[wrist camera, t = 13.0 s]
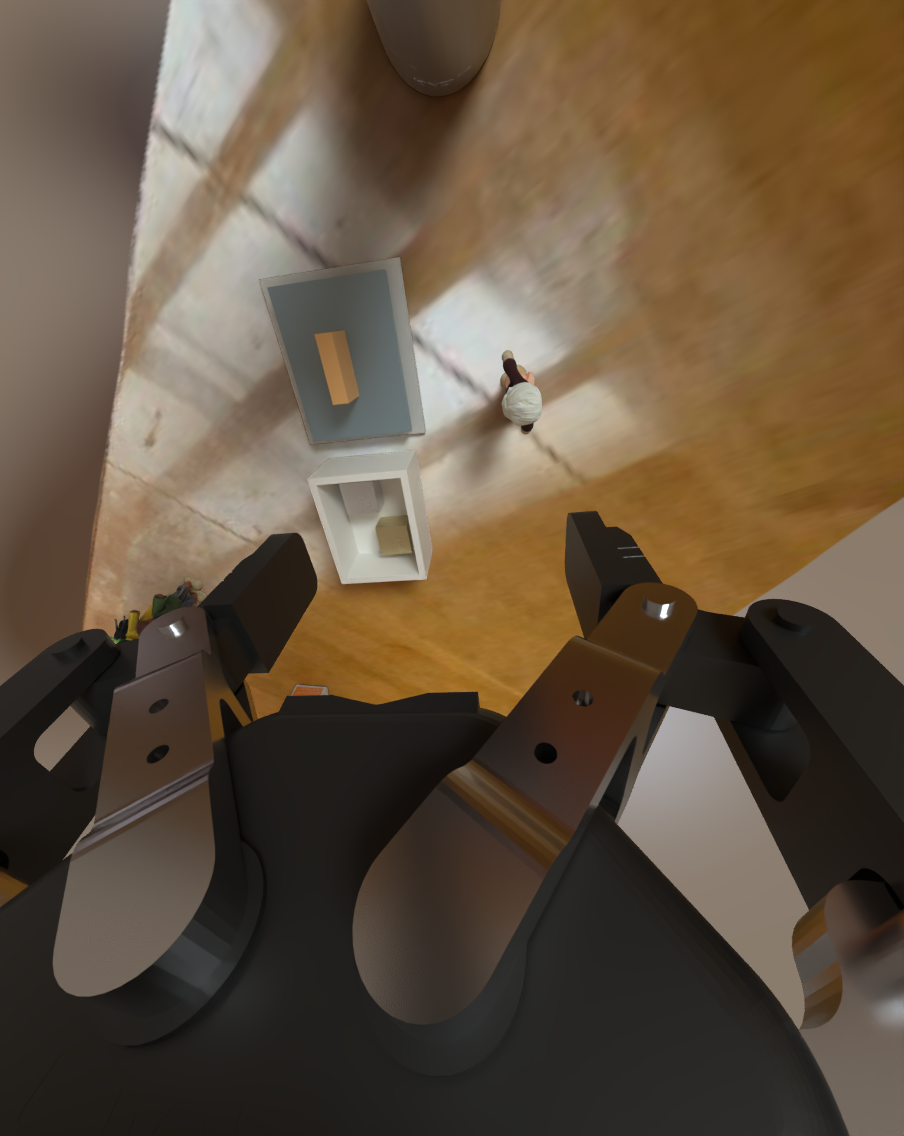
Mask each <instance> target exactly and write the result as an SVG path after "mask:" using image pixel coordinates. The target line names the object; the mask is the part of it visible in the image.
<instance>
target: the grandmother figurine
mask: <svg viewBox="0 0 904 1136" xmlns="http://www.w3.org/2000/svg"><path fill="white" fill-rule="evenodd" d="M502 360H503V368H504V371H505V373H504V374H503V375H502V377H501V383H502V386H503V387H504V388H506V389H507V390H506V394H505V396H504V398H503V400H502V408H503V413H504V415H505V417H507V418H508V419H510V420H512V422H513V423H515V424H516V425H519V426H521V432H522V433H523V434H529V433H530V431H531V430H532V428H533V424H534V422H536V421H537V420H538V419H539V417H540V416H541V412H542V397H541V393H540V391H539V390H538V388H537V387H535V386H534V381H535V379H534V375H533V373H532V372H529V373H528V374H526V370H525V369H524V367H522V366H520V365H516V362H515V360H514V358H513V353H512V352H511V351H509V350H507V351H505V352H504V353H503V354H502Z"/></svg>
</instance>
